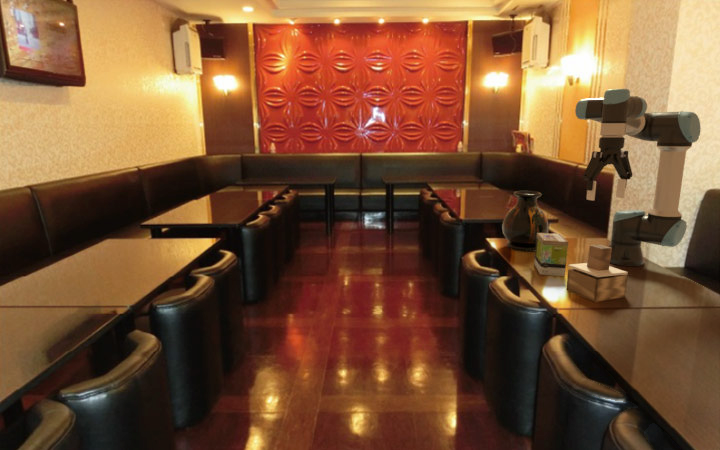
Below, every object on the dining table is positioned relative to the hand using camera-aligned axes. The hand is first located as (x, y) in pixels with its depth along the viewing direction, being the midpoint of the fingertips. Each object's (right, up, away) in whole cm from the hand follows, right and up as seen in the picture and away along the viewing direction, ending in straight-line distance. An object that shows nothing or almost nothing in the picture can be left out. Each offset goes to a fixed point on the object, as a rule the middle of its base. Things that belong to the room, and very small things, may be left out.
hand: (605, 198), depth 158 cm
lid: (0, -25, +5) cm, 26 cm away
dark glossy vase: (-4, -21, +69) cm, 72 cm away
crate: (0, -34, +7) cm, 35 cm away
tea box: (-6, -28, +34) cm, 45 cm away
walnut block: (0, -25, +5) cm, 25 cm away
